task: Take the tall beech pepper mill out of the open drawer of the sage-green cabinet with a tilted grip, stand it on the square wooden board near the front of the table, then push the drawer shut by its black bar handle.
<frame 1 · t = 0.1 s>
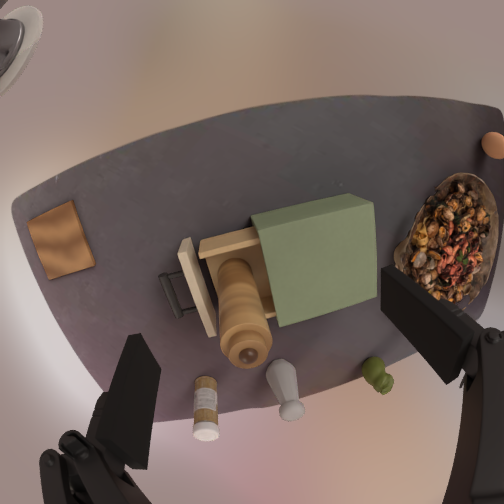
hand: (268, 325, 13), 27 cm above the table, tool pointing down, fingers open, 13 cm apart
pepper mill: (234, 273, 40), point 2 cm above the table, touching drawer
drawer: (229, 280, 38), point 4 cm above the table, slide at 9.0 cm, touching pepper mill
salt shaker: (278, 365, 51), on the table
egg: (482, 143, 39), on the table
cabinet: (309, 248, 42), on the table
square wooden board: (59, 241, 36), on the table
food dish: (451, 248, 47), on the table
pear: (368, 360, 54), on the table
spice jar: (205, 381, 50), on the table
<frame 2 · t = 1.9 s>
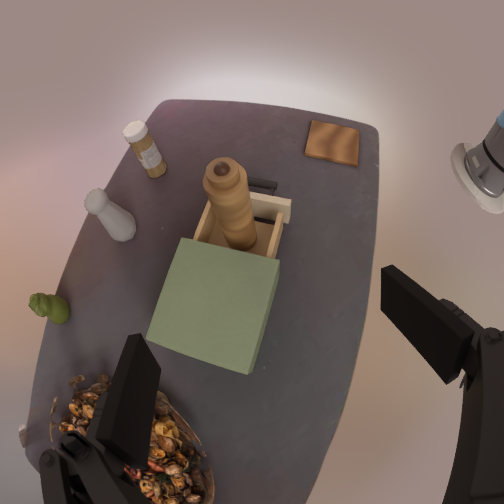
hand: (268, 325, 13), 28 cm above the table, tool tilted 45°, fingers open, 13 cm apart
pepper mill: (241, 237, 44), point 2 cm above the table, touching drawer
drawer: (241, 228, 43), point 4 cm above the table, slide at 9.0 cm, touching pepper mill
salt shaker: (127, 232, 50), on the table
cabinet: (221, 311, 42), on the table
square wooden board: (333, 143, 53), on the table
food dish: (125, 461, 33), on the table
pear: (66, 313, 44), on the table
spice jar: (158, 171, 55), on the table
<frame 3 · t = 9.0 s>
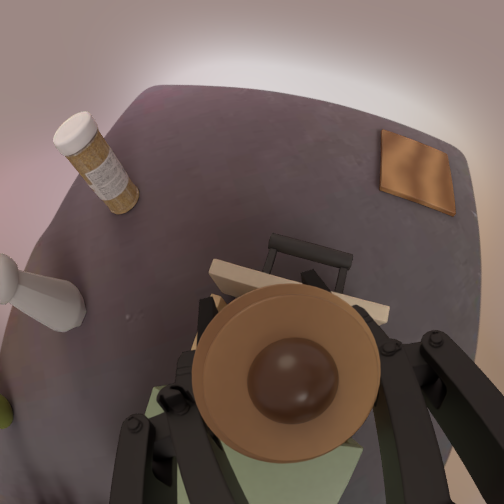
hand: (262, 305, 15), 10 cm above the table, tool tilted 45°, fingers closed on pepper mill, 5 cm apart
pepper mill: (277, 365, 21), point 2 cm above the table, touching drawer, gripper
drawer: (281, 355, 20), point 4 cm above the table, slide at 9.0 cm, touching pepper mill
salt shaker: (74, 311, 26), on the table
cabinet: (235, 475, 19), on the table
square wooden board: (417, 171, 30), on the table
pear: (10, 410, 21), on the table
spice jar: (125, 201, 31), on the table
when the fingers open (9 cm above the table, at t = 20.6 s): pepper mill stays where it is, resting on square wooden board.
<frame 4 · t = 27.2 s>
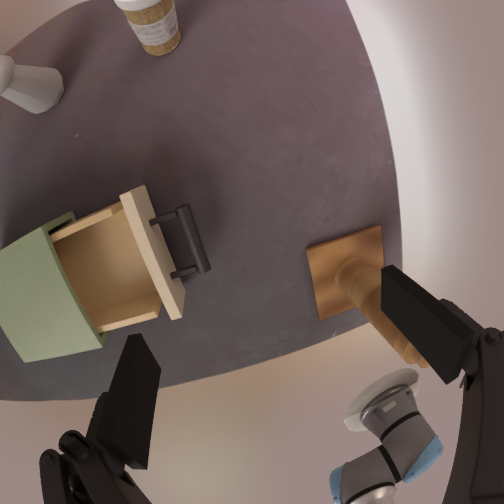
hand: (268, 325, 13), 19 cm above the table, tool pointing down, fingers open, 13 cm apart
pepper mill: (351, 274, 35), point 1 cm above the table, touching square wooden board
drawer: (119, 263, 27), point 4 cm above the table, slide at 9.0 cm
salt shaker: (52, 93, 22), on the table
cabinet: (53, 280, 29), on the table
square wooden board: (348, 272, 36), on the table
spice jar: (162, 41, 23), on the table
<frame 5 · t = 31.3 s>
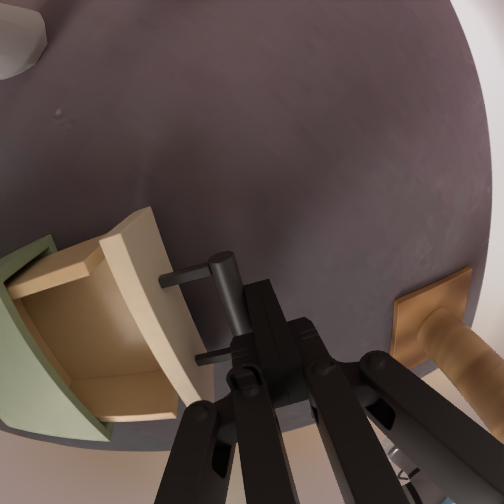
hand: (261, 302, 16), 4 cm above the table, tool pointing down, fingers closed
pepper mill: (433, 327, 24), point 1 cm above the table, touching square wooden board
drawer: (110, 336, 16), point 4 cm above the table, slide at 7.7 cm, touching gripper
salt shaker: (30, 51, 11), on the table
cabinet: (33, 327, 19), on the table
square wooden board: (429, 323, 24), on the table
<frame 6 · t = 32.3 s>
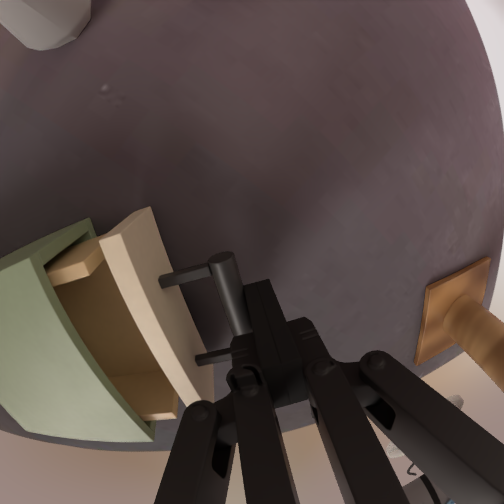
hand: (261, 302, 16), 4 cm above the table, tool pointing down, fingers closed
pepper mill: (457, 314, 24), point 1 cm above the table, touching square wooden board
drawer: (110, 336, 16), point 4 cm above the table, slide at 3.7 cm, touching gripper
salt shaker: (69, 25, 11), on the table
cabinet: (58, 322, 19), on the table
square wooden board: (453, 310, 24), on the table
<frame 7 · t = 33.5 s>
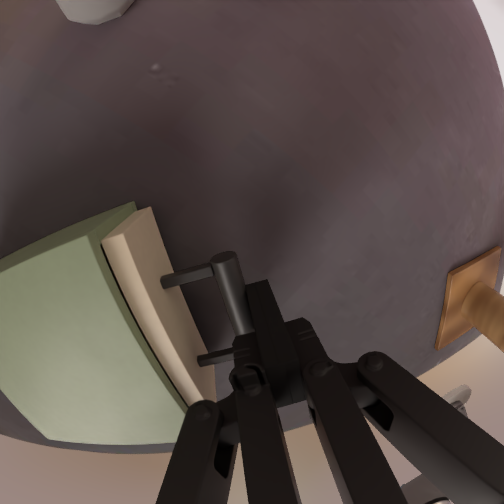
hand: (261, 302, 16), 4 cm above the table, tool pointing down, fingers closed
pepper mill: (473, 300, 24), point 1 cm above the table, touching square wooden board
drawer: (111, 338, 15), point 4 cm above the table, slide at 0.0 cm, touching cabinet, gripper
salt shaker: (111, 3, 11), on the table
cabinet: (86, 317, 19), on the table
square wooden board: (469, 297, 25), on the table
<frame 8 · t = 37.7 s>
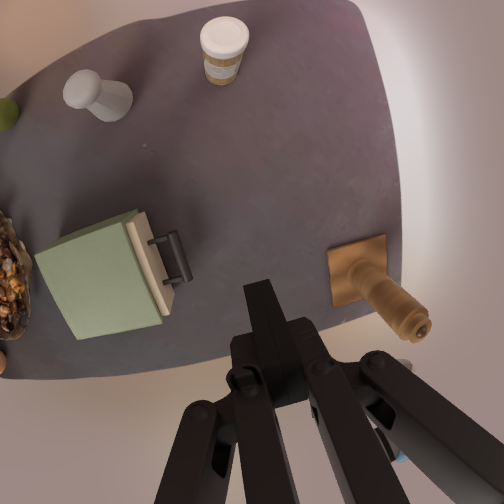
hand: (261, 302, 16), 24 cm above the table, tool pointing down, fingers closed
pepper mill: (360, 272, 44), point 1 cm above the table, touching square wooden board
drawer: (124, 271, 35), point 4 cm above the table, slide at 0.0 cm, touching cabinet
salt shaker: (118, 104, 31), on the table
egg: (2, 352, 42), on the table
cabinet: (110, 267, 39), on the table
square wooden board: (358, 270, 44), on the table
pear: (14, 116, 27), on the table
spice jar: (221, 72, 31), on the table
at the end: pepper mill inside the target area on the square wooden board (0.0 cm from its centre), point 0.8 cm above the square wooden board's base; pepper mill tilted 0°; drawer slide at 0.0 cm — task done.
